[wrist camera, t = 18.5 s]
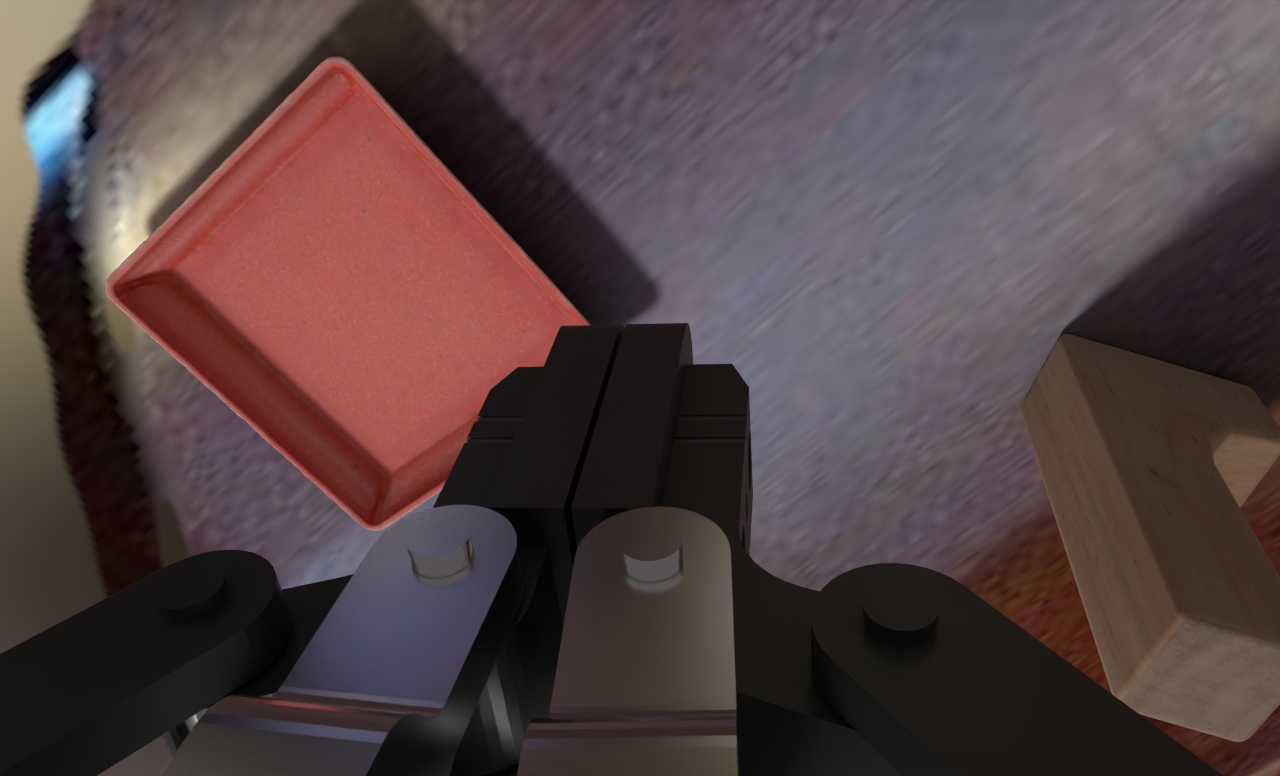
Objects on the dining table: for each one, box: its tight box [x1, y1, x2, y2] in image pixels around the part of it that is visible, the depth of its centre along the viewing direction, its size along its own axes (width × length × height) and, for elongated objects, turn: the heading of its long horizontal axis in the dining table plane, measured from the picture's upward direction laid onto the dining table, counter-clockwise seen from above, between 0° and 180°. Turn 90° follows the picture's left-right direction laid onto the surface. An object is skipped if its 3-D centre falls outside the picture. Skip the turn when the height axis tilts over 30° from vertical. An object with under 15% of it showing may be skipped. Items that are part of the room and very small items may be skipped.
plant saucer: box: [106, 56, 591, 531], centre depth 49 cm, size 18×18×3 cm
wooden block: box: [1021, 334, 1280, 742], centre depth 39 cm, size 9×4×18 cm, turn 76°
